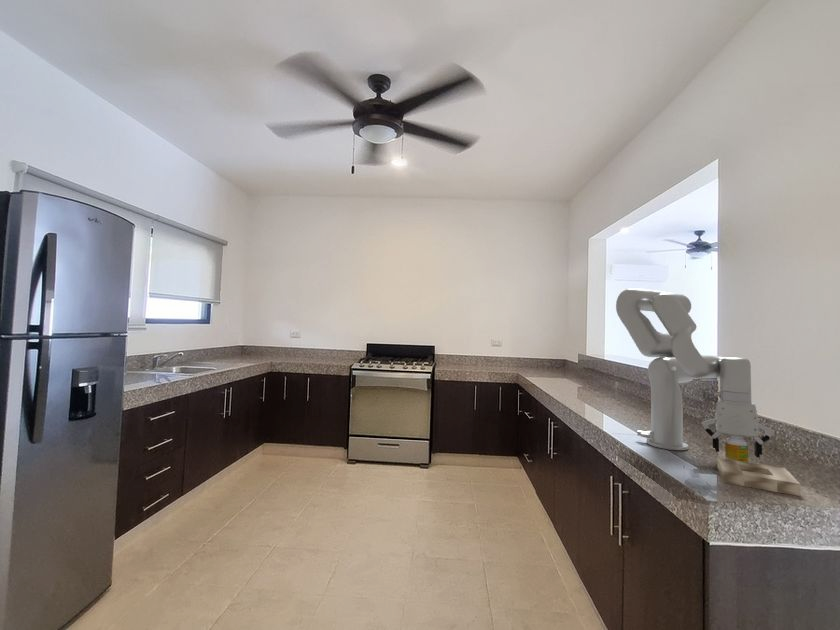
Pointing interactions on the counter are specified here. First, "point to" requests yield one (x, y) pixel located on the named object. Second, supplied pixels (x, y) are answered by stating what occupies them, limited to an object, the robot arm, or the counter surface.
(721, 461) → the socket board
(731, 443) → the supplement bottle
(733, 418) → the robot arm
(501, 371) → the counter surface
